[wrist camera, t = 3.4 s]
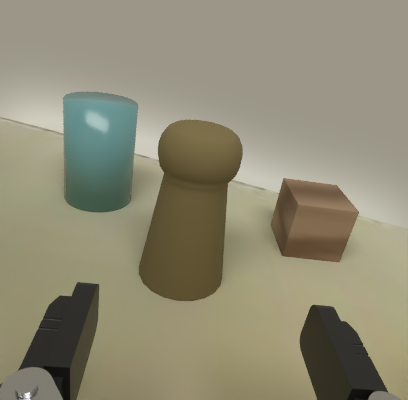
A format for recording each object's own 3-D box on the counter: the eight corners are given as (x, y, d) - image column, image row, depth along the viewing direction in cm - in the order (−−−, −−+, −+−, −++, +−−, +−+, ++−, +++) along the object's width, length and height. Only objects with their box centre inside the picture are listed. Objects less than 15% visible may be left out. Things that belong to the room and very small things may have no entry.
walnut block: (338, 263, 32) (359, 212, 30) (282, 256, 31) (298, 204, 29) (320, 231, 36) (336, 185, 34) (270, 225, 36) (283, 178, 34)
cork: (160, 239, 31) (177, 105, 26) (231, 262, 29) (263, 126, 24) (123, 282, 25) (135, 123, 20) (206, 312, 24) (241, 151, 19)
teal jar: (74, 216, 32) (75, 111, 28) (57, 185, 36) (55, 90, 32) (140, 206, 35) (149, 111, 31) (117, 179, 39) (122, 92, 35)
